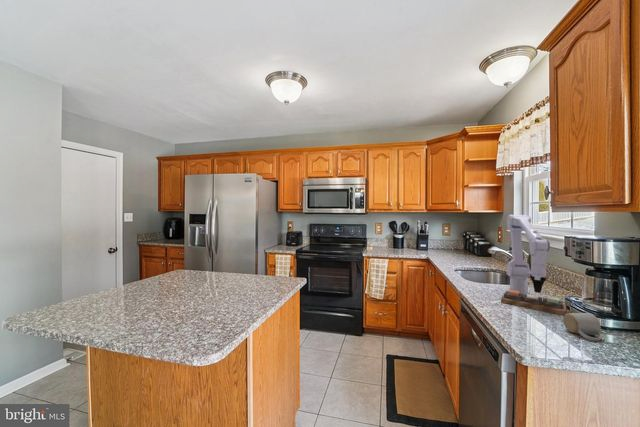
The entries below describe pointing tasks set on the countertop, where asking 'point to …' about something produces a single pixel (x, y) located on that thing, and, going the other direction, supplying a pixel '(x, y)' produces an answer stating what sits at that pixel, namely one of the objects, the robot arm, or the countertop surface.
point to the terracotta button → (514, 292)
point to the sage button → (552, 299)
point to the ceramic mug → (583, 325)
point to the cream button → (532, 296)
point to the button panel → (534, 303)
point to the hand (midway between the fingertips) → (537, 292)
